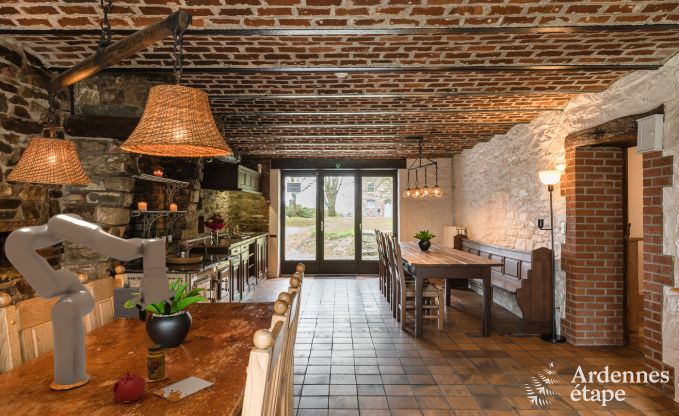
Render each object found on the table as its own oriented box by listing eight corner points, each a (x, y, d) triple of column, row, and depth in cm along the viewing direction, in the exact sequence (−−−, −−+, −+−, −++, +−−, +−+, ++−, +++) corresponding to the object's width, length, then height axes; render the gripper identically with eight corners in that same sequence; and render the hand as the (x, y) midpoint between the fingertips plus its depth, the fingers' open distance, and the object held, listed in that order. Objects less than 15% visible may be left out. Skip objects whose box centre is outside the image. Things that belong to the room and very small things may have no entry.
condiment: (147, 384, 150) (146, 350, 150) (144, 376, 157) (144, 344, 157) (169, 379, 154) (168, 346, 154) (165, 371, 161) (164, 340, 161)
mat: (152, 394, 142) (152, 392, 142) (192, 377, 155) (192, 376, 155) (174, 403, 135) (174, 401, 135) (214, 385, 148) (214, 383, 148)
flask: (111, 320, 238) (111, 284, 238) (116, 317, 244) (115, 283, 244) (138, 319, 239) (138, 284, 239) (142, 316, 245) (142, 282, 244)
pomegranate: (150, 391, 144) (150, 364, 144) (137, 405, 134) (137, 376, 134) (121, 392, 144) (121, 365, 144) (106, 406, 134) (105, 377, 134)
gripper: (169, 268, 164) (170, 311, 165) (126, 274, 150) (127, 322, 150) (181, 269, 160) (182, 314, 160) (137, 276, 146) (138, 325, 146)
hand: (155, 317), depth 155 cm, fingers open, 9 cm apart
